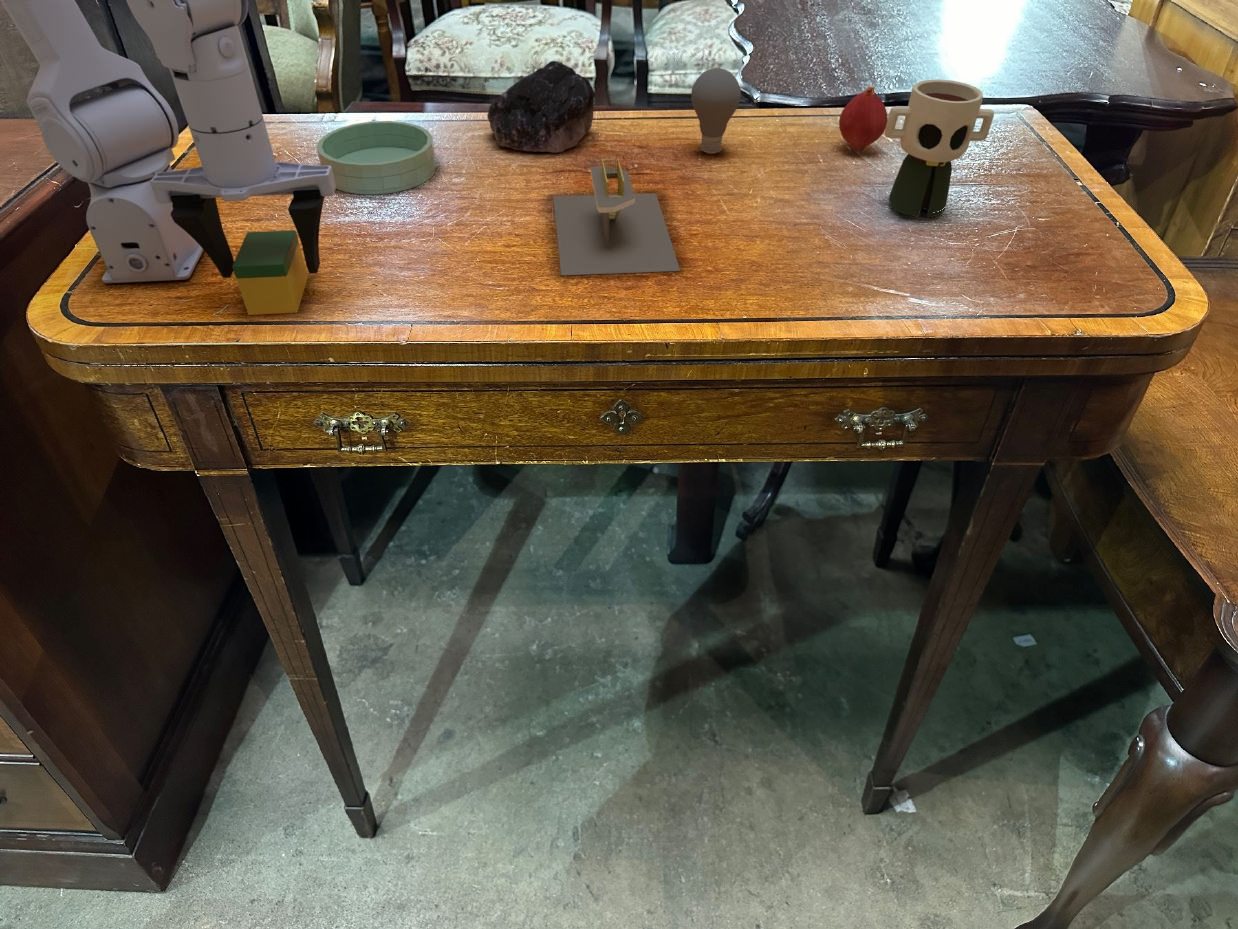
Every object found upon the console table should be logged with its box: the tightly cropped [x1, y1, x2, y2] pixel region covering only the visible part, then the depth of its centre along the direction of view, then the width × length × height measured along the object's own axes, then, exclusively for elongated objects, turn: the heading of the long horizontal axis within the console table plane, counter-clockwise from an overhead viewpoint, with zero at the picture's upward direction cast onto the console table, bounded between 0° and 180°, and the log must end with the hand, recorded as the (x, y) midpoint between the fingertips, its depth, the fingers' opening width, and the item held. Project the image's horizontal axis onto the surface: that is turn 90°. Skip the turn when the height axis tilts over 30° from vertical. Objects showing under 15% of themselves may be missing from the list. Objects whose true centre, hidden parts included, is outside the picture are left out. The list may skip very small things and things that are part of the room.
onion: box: [838, 85, 888, 152], centre depth 103 cm, size 6×6×8 cm
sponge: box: [232, 229, 309, 316], centre depth 76 cm, size 6×4×5 cm
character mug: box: [884, 79, 995, 218], centre depth 89 cm, size 11×7×13 cm, turn 87°
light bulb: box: [690, 67, 742, 155], centre depth 101 cm, size 6×6×10 cm
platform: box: [552, 158, 681, 276], centre depth 86 cm, size 12×18×7 cm, turn 6°
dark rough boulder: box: [486, 60, 595, 153], centre depth 104 cm, size 13×14×10 cm
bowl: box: [316, 120, 437, 195], centre depth 97 cm, size 13×13×4 cm
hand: (272, 270), depth 76 cm, fingers open, 7 cm apart
